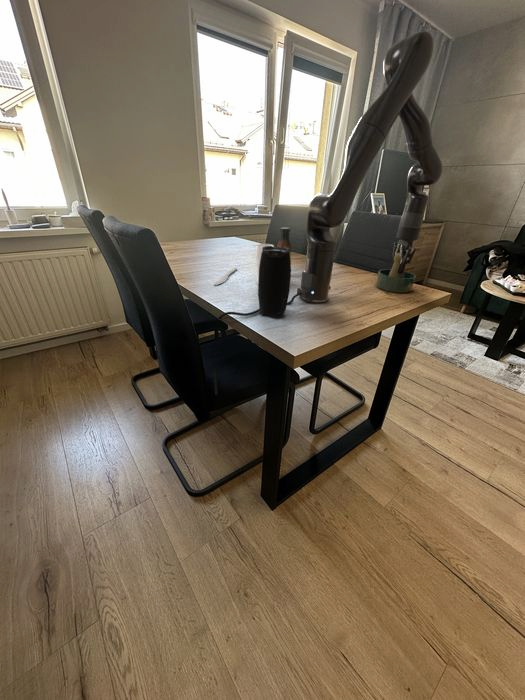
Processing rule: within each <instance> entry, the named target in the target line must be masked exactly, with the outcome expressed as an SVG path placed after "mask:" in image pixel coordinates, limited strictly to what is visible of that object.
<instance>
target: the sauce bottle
mask: <svg viewBox="0 0 525 700" xmlns="http://www.w3.org/2000/svg"><path fill="white" fill-rule="evenodd" d="M279 232H280V237H279V239H280V240H279V241H278V243H277V247H276V248H282V247H287V248H289V249H290V262H291V263H292V251H293V250H292V244H291V241H290V232H291V228H290V227H280V228H279Z"/></svg>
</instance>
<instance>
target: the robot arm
mask: <svg viewBox="0 0 525 700" xmlns="http://www.w3.org/2000/svg"><path fill="white" fill-rule="evenodd" d="M434 49H435V41H434V37H433V34H432V33H431V32H430V31H428V30H419V31H416V32H414V33H412V34H410V35H408V36H406V37H404V38H402V39H401V40H399V41H397V42H396V43H394V44H392V45H391V46H390V47H389V49H388V50H387V51H386V53H385V56H384V59H383V65H382V67H383V68H382V70H383V77H384V80H385V84H386V88H385V89H384V90H383V92H381V93H380V95H378V97H377V98H376V99H375V100H374V102H373V103H372V104H371V105H370V106H369V107H368V108H367V110H366V111H365V112H364V113H363V115H361V116H360V119H359V120H358V122H357V123H356V125H355V127H354V129H353V130H352V133H351V135H350V136H349V139H348V141H347V143H346V146H345V150H344V166H343V171H342V174H341V177H340V179H339V181H338V183H337V184H336V186H335V188H334V190H333V191H332V192H331V193H330V192H329V193H327V192H320V193H317V194H316V195H314V196H313V197H312V198H311V201H310V203H309V206H308V210H307V219H306V235H305V236H306V240H307V248H306V257H305V265H304V270H302V271H301V279H300V287H297V288H296V294H294V295H293V296H292V297H291V298H290V300H289V301H287V306H288V305H289V306H290V304H293V302H294V301H295V298H297V297H299V298H300V299H302V300H304V301H306V302H307V303H314V304H315V303H316V304H317V303H318V304H319V303H325V302H328V299H329V293H330V292H329V291H330V290H331V280H332V275H333V268H334V261H335V256H336V249H337V240H336V239H335V237H333V235H332V232H331V229H334V228H337V227H340V226H341V225H342V223H343V222H344V221H345V219H346V217H347V216H348V214H349V212H350V210H351V207H352V205H353V203H354V200H355V198H356V196H357V194H358V191H359V189H360V187H361V185H362V183H363V181H364V179H365V177H366V175H367V173H368V171H369V169H370V167H371V166H372V163H373V162H374V160H375V158H376V157H377V155H378V153H379V152H380V150H381V148H382V146H383V144H384V142H385V140H386V139H387V136H388V134H389V133H390V130H391V129H392V127H393V126H394V124H395V122H396V120H397V118H399V120H400V121H399V122H400V124H401V127H402V130H403V134H404V139H405V144H406V148H407V153H408V157H409V159H410V160H411V161H414V162H416V163H414V164H413V165H412V166H411V168H410V169H409V171H408V174H407V177H406V178H407V179H406V201H405V204H404V209H403V213H402V215H401V217H400V221H399V225H398V228H397V232H396V237H395V238H396V239H397V240H398V241H394V243H393V249H392V254H391V256H392V257H391V258H392V259H393V264H394V262H395V260H394V256H395V254H396V253H400V258H401V259H400V264H399V268H398V271H397V273H399V274H403V273H404V271H405V270H406V266H407V264H410V263H411V262H412V259H413V257H414V255H415V252H416V247H413V245H414V241H418V239H419V236H420V232H421V229H422V225H423V222H424V218H425V213H426V209H427V206H428V202H429V199H430V197H429V195H428V194H427V193H424V192H423V187H425V186H427V187H428V186H433V185H435V184H437V183H438V182H439V181H440V179H441V177H442V175H443V168H444V167H443V163H442V159H441V157H440V155H439V153H438V150H437V149H436V147H435V145H434V141H433V134H432V133H433V132H432V126H431V122H430V120H429V118H428V115H427V114H426V112H425V111H424V110H423V108H422V107H421V105H420V104H419V103H418V101H417V100H416V97H415V96H414V94H413V92H414V91H415V89H416V87H417V86H418V85H419V83H420V81H421V80H422V78H423V77H424V76H425V73H426V72H427V70H428V68H429V67H430V65H431V61H432V58H433V54H434ZM403 254H404V255H403ZM403 258H404V259H403ZM393 264H392V265H393ZM404 269H405V270H404ZM257 313H260V307H259V308H258V309H256V310H253V311H250V312H246V313H244V312H236V311H225V312H223V313H221V314H220V315H219V316H218V317H217V320H220V319H222V318H223V317H225V316H229V315H235V316H239V317H248V316H252V315H255V314H257ZM212 372H213V373H212V376H213V384H214V385H213V386H214V396H215V395H217V394H218V384H217V383H218V382H217V371H216V370H214V371H212Z"/></svg>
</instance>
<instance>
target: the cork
mask: <svg viewBox="0 0 525 700" xmlns="http://www.w3.org/2000/svg"><path fill="white" fill-rule="evenodd" d="M403 255H404V254H403ZM400 259H401V258H400V253H396V254H395V256H394V258H393V263H394V264H392V267H391V268H390V269H391V271H390V274H389V276H391V277H396V278H403V277H404V273H403V274H399V273H397V271H398V268H399V264H400ZM403 259H404V258H403ZM394 260H395V262H394ZM405 270H406V268H405V269H404V271H405Z"/></svg>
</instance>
